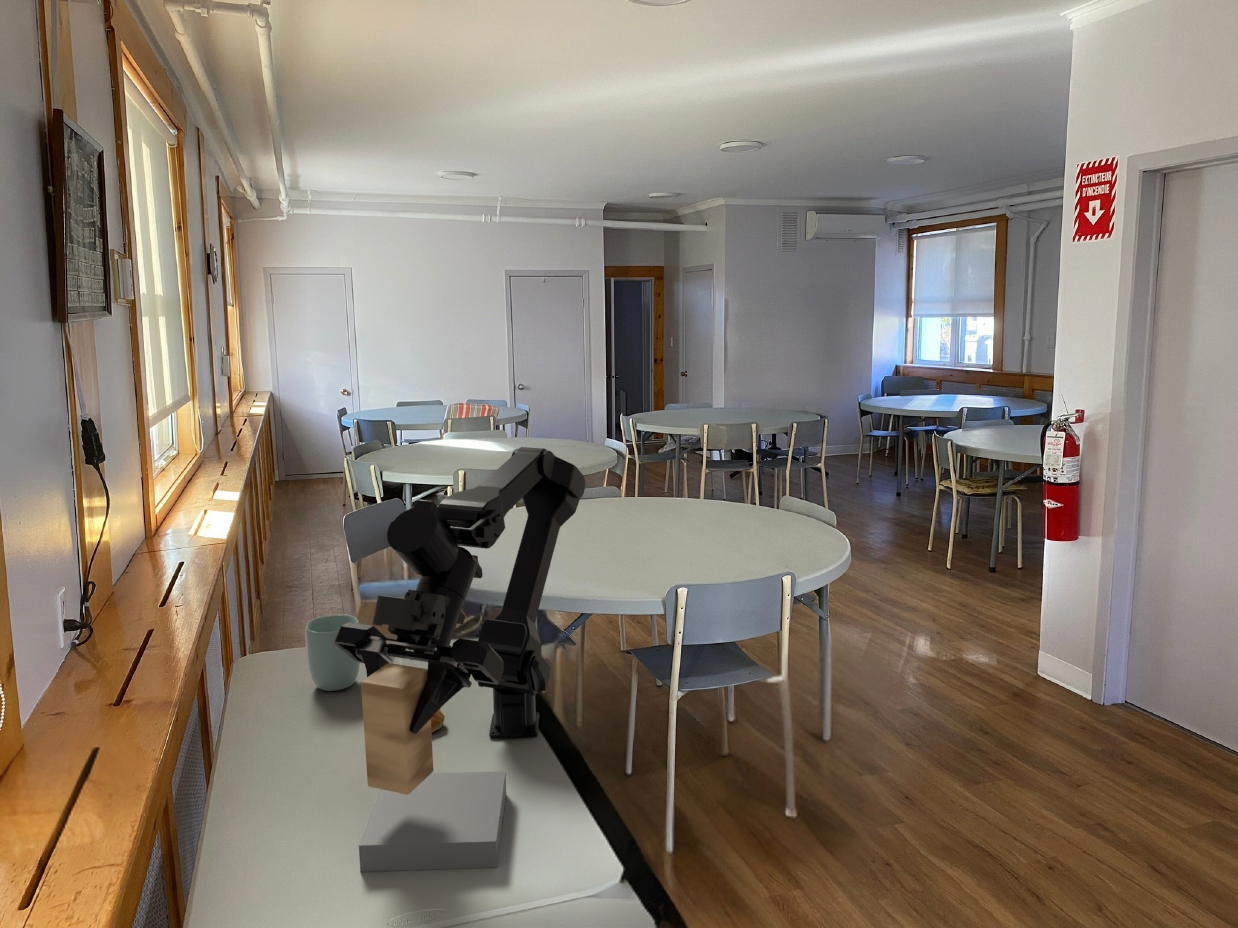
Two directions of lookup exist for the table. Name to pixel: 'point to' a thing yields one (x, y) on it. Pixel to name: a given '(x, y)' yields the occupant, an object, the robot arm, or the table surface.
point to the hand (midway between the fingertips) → (390, 728)
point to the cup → (329, 653)
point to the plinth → (437, 824)
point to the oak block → (395, 729)
